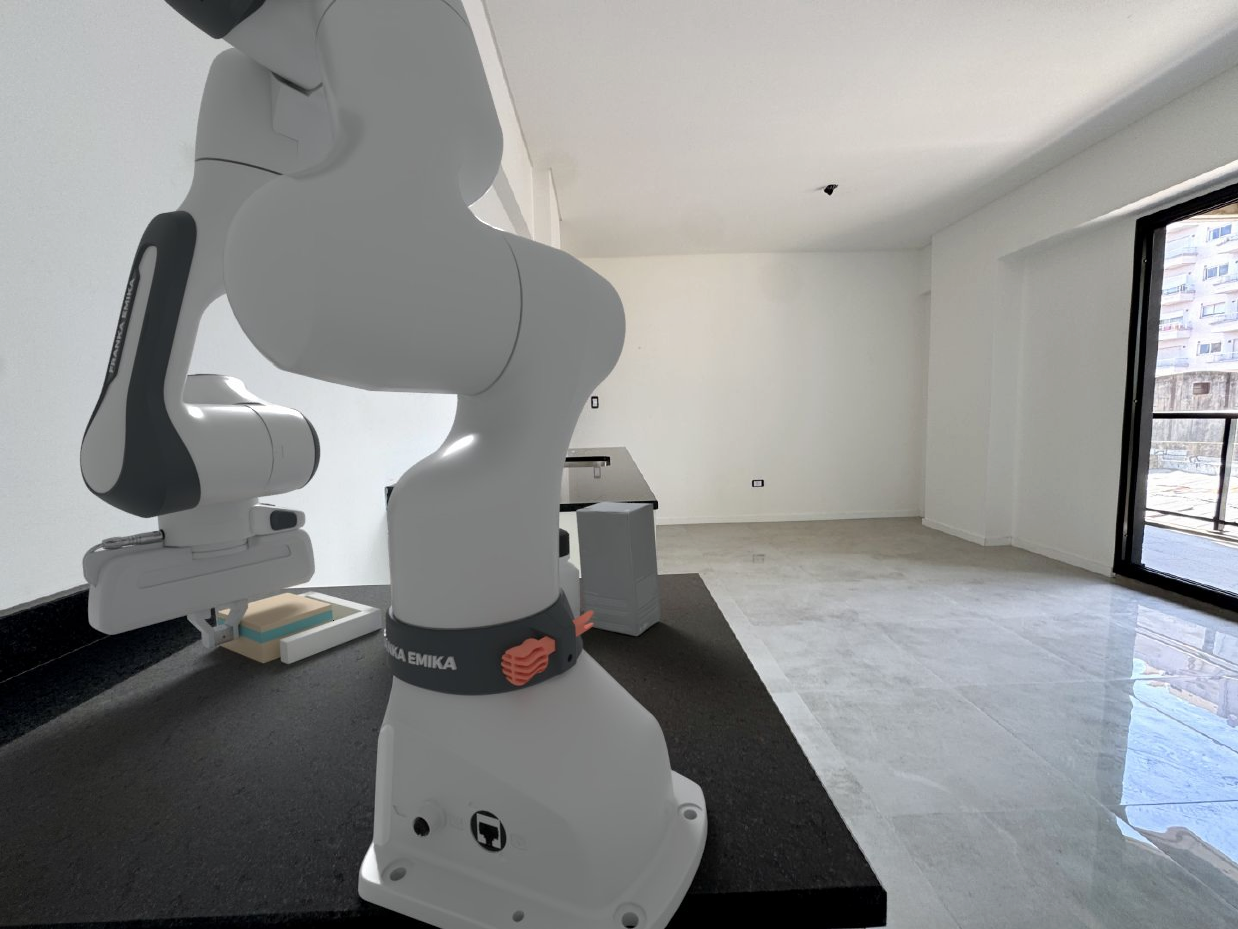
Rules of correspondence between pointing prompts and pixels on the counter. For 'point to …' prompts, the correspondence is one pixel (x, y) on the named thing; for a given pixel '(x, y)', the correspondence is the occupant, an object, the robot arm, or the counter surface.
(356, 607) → the frame
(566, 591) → the medicine bottle
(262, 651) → the carton
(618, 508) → the skincare box
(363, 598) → the counter surface
